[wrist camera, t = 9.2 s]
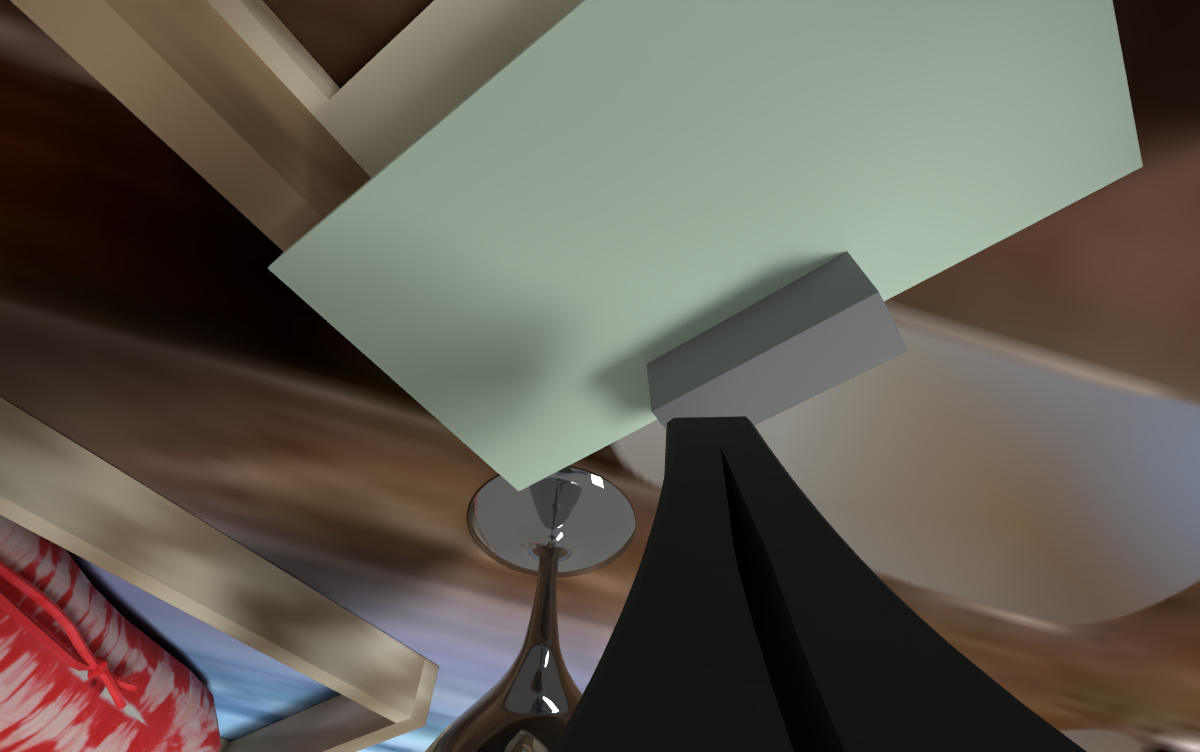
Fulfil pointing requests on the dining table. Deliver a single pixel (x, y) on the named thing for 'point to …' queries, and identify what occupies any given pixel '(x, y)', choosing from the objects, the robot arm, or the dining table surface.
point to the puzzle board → (285, 90)
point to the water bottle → (85, 665)
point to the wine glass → (539, 600)
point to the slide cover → (707, 206)
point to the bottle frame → (216, 590)
